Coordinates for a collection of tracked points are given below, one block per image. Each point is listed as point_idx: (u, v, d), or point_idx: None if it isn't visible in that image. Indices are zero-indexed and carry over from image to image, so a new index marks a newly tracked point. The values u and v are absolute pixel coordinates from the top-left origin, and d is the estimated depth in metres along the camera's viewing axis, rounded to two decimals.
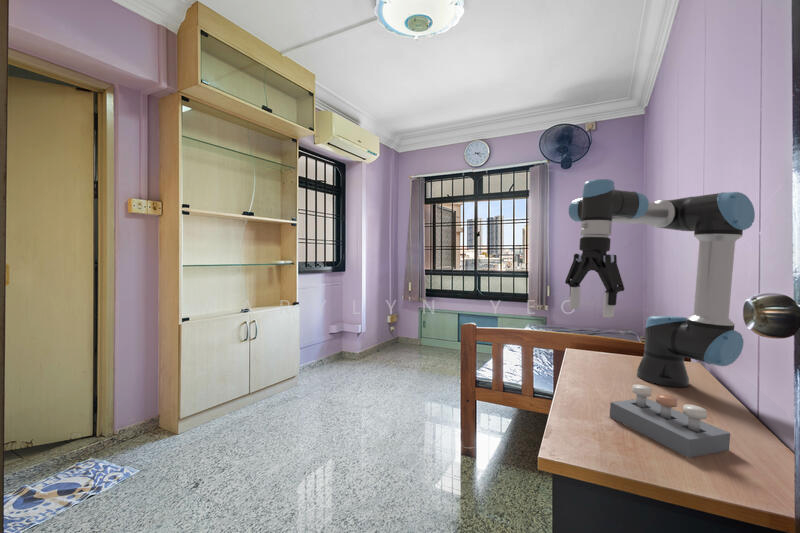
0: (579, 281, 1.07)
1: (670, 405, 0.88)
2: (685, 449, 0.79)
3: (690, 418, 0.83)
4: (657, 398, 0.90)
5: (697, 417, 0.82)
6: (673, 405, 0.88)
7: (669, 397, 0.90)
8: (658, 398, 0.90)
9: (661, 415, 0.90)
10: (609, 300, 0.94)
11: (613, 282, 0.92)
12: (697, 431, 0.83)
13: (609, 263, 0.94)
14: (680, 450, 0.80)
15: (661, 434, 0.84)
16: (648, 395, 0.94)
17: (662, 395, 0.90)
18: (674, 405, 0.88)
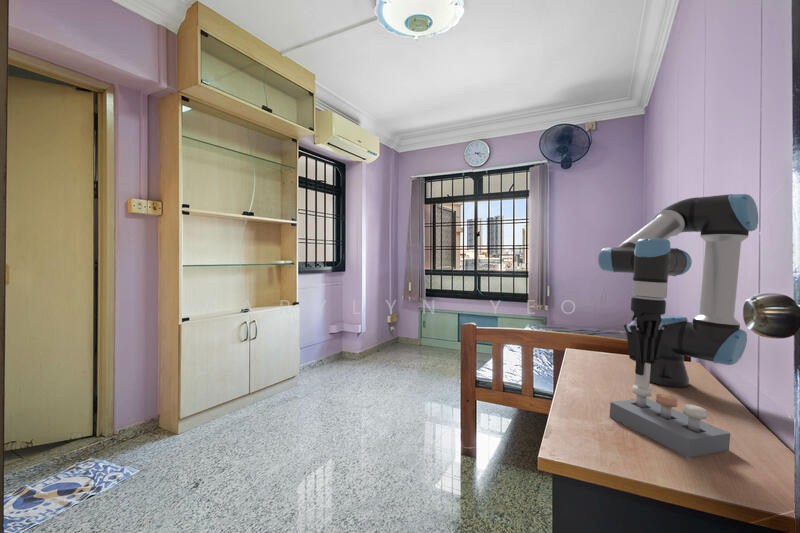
0: (648, 353, 0.95)
1: (670, 405, 0.88)
2: (685, 449, 0.79)
3: (690, 418, 0.83)
4: (657, 398, 0.90)
5: (697, 417, 0.82)
6: (673, 405, 0.88)
7: (669, 397, 0.90)
8: (658, 398, 0.90)
9: (661, 415, 0.90)
10: None
11: None
12: (697, 431, 0.83)
13: (627, 333, 0.95)
14: (680, 450, 0.80)
15: (661, 434, 0.84)
16: (648, 395, 0.94)
17: (662, 395, 0.90)
18: (674, 405, 0.88)
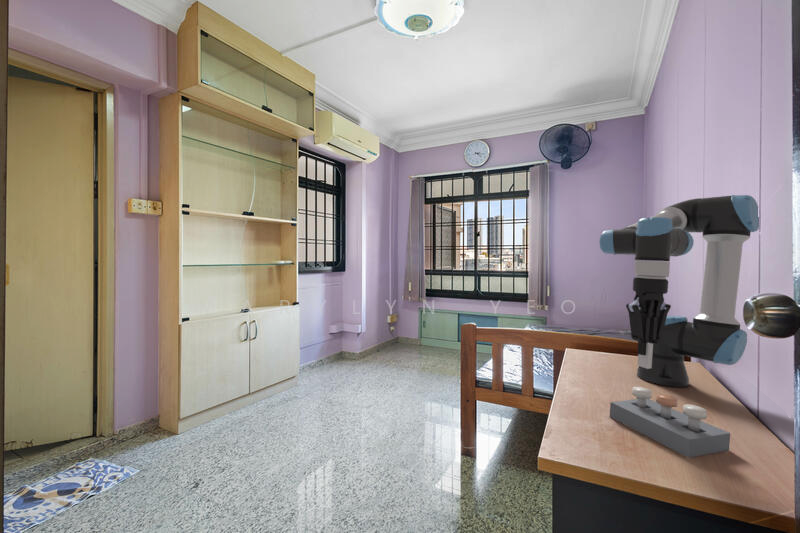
0: (650, 332, 0.95)
1: (670, 405, 0.88)
2: (685, 449, 0.79)
3: (690, 418, 0.83)
4: (657, 398, 0.90)
5: (697, 417, 0.82)
6: (673, 405, 0.88)
7: (669, 397, 0.90)
8: (658, 398, 0.90)
9: (661, 415, 0.90)
10: None
11: None
12: (697, 431, 0.83)
13: (629, 312, 0.94)
14: (680, 450, 0.80)
15: (661, 434, 0.84)
16: (648, 397, 0.94)
17: (662, 395, 0.90)
18: (674, 405, 0.88)
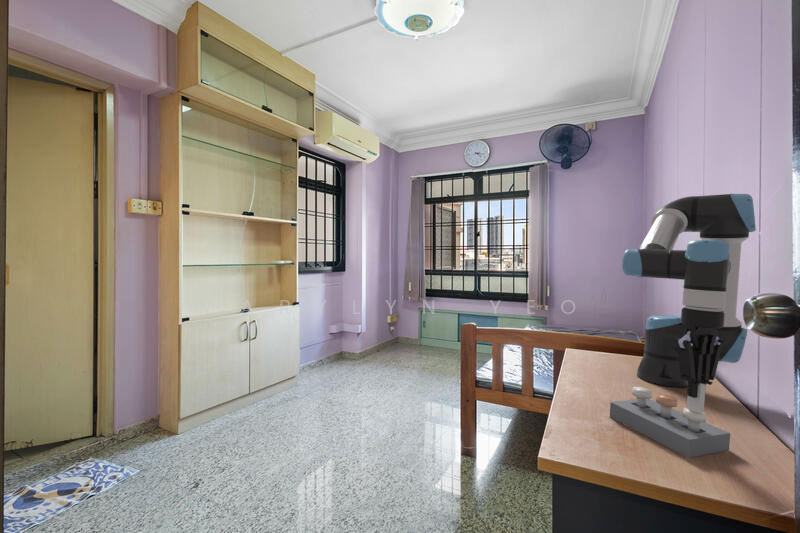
0: (702, 371, 0.83)
1: (670, 405, 0.88)
2: (685, 449, 0.79)
3: (690, 421, 0.83)
4: (657, 398, 0.90)
5: (697, 420, 0.82)
6: (673, 405, 0.88)
7: (669, 397, 0.90)
8: (658, 398, 0.90)
9: (661, 415, 0.90)
10: None
11: None
12: None
13: (678, 349, 0.82)
14: (680, 450, 0.80)
15: (661, 434, 0.84)
16: (648, 397, 0.94)
17: (662, 395, 0.90)
18: (674, 405, 0.88)
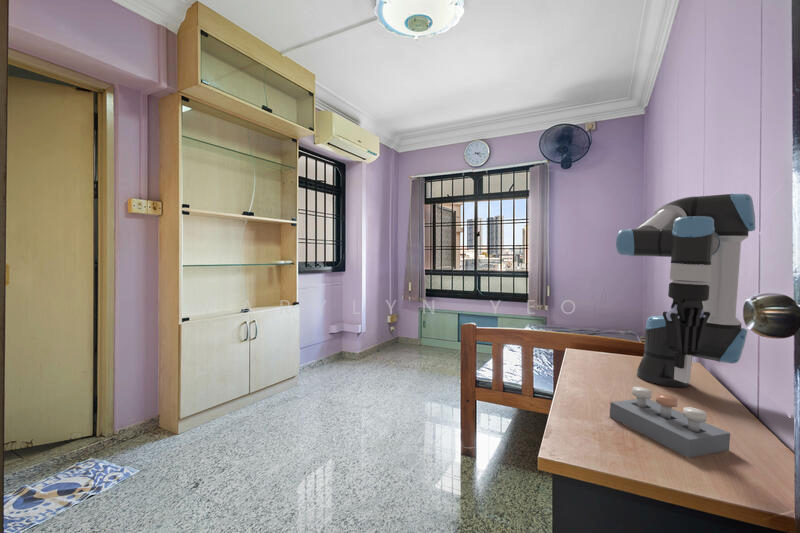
0: (689, 343, 0.86)
1: (670, 405, 0.88)
2: (685, 449, 0.79)
3: (690, 420, 0.83)
4: (657, 398, 0.90)
5: (697, 420, 0.82)
6: (673, 405, 0.88)
7: (669, 397, 0.90)
8: (658, 398, 0.90)
9: (661, 415, 0.90)
10: None
11: None
12: None
13: (666, 322, 0.85)
14: (680, 450, 0.80)
15: (661, 434, 0.84)
16: (648, 397, 0.94)
17: (662, 395, 0.90)
18: (674, 405, 0.88)
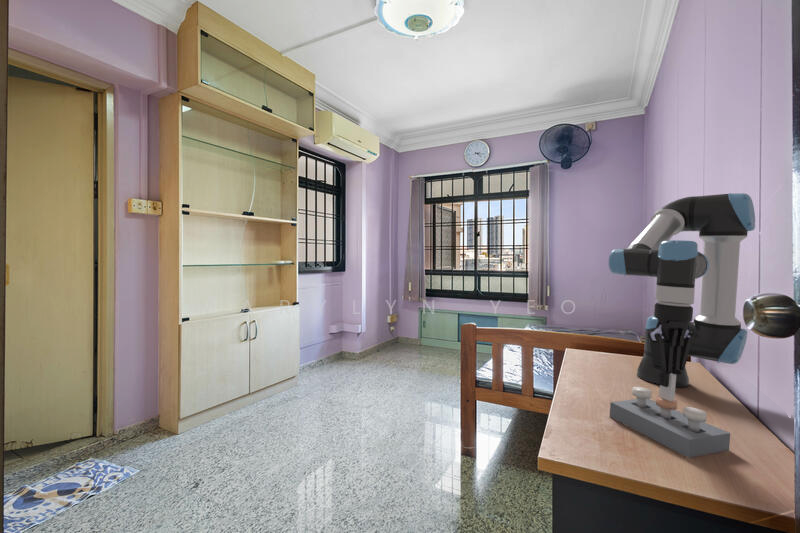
0: (673, 362, 0.89)
1: (670, 408, 0.88)
2: (685, 449, 0.79)
3: (690, 420, 0.83)
4: (657, 400, 0.90)
5: (697, 420, 0.82)
6: (673, 408, 0.88)
7: None
8: (658, 400, 0.90)
9: None
10: None
11: None
12: None
13: (651, 341, 0.88)
14: (680, 450, 0.80)
15: (661, 434, 0.84)
16: (648, 397, 0.94)
17: (661, 398, 0.91)
18: (674, 408, 0.88)
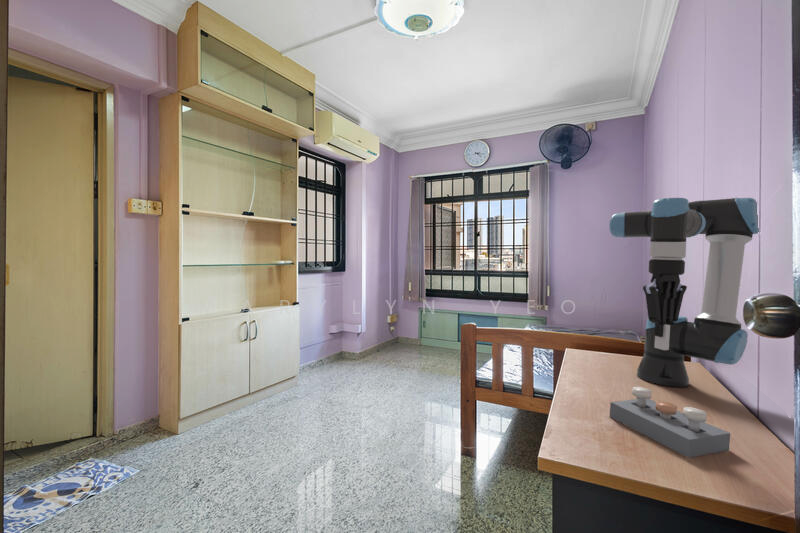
0: (667, 314, 0.94)
1: (669, 412, 0.88)
2: (685, 449, 0.79)
3: (690, 420, 0.83)
4: (656, 405, 0.90)
5: (697, 420, 0.82)
6: (672, 413, 0.88)
7: (668, 404, 0.90)
8: (657, 405, 0.90)
9: None
10: None
11: None
12: None
13: (646, 295, 0.94)
14: (680, 450, 0.80)
15: (661, 434, 0.84)
16: (648, 397, 0.94)
17: (661, 403, 0.91)
18: (673, 413, 0.88)
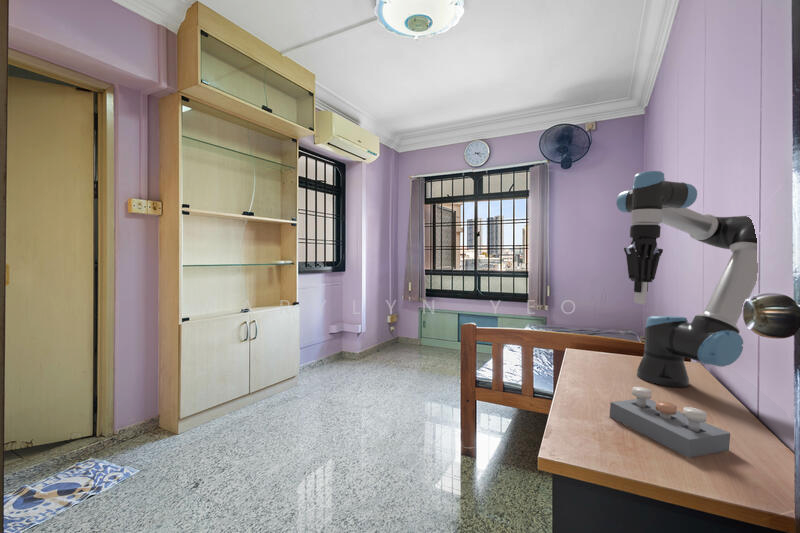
0: (645, 273, 1.09)
1: (669, 412, 0.88)
2: (685, 449, 0.79)
3: (690, 420, 0.83)
4: (656, 405, 0.90)
5: (697, 420, 0.82)
6: (672, 413, 0.88)
7: (668, 404, 0.90)
8: (657, 405, 0.90)
9: None
10: None
11: None
12: None
13: (627, 255, 1.08)
14: (680, 450, 0.80)
15: (661, 434, 0.84)
16: (648, 397, 0.94)
17: (661, 403, 0.91)
18: (673, 413, 0.88)
